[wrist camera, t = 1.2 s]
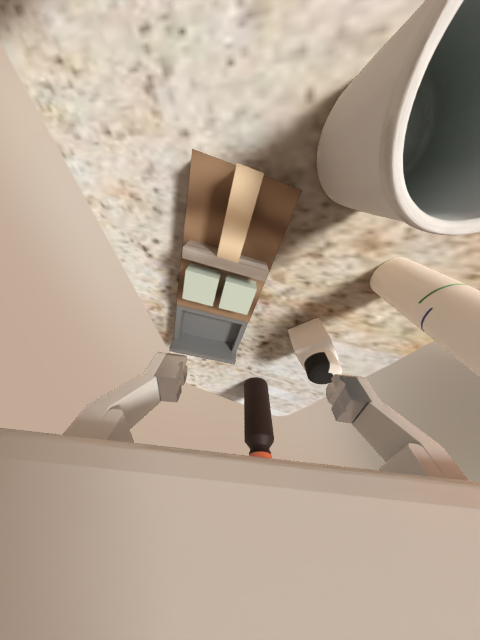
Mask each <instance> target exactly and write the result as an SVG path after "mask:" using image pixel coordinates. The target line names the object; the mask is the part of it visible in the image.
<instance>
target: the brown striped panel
mask: <svg viewBox="0 0 480 640" xmlns="http://www.w3.org/2000/svg"><path fill="white" fill-rule="evenodd" d="M235 170H236V165H234V164H231V163H228V162H226V161H223V160H220V159H218V158H215V157H212V156H210V155H207V154H205V153H202V152H199V151H197V150H194V149H192V157H191V167H190V177H189V187H188V197H187V206H186V216H185V226H184V236H183V245H182V251H183V246H184V245H185V244H186V243H187V242H188V241H189V240H193V241H196V242H200V243H203V244H206V245H210V246H213V247H216V248H219V244H220V239H221V235H222V230H223V225H224V221H225V216H226V211H227V207H228V202H229V197H230V193H231V188H232V183H233V179H234V174H235ZM301 191H302V190H300V189H297V188H294V187H292V186H289V185H286V184H284V183H281V182H278V181H276V180H273V179H271V178H268V177H265V176H263V179H262V183H261V186H260V190H259V193H258V197H257V200H256V204H255V207H254V210H253V214H252V217H251V221H250V224H249V228H248V231H247V235H246V238H245V242H244V245H243V248H242V252H241V255H243V256H246V257H249V258H253V259H256V260H259V261H263V262H266V263H267V267H268V270H269V271H270V269H271V266H272V264H273V261H274V259H275V256H276V254H277V251H278V249H279V246H280V244H281V241H282V239H283V236H284V234H285V231H286V229H287V226H288V224H289V221H290V219H291V216H292V214H293V211H294V209H295V206H296V204H297V201H298V199H299V196H300V194H301ZM190 263H192V264H196V265H199V266H203V267H206V268H210V269H213V270H217V271H220V272H221V274H220V279H219V283H218V287H217V291H216V295H215V299H214V303H213V306H209V305H205V304H201V303H197V302H193V301H189V300H185V299H182V296H183V288H184V280H185V272H186V269H187V267H188V266H189V264H190ZM227 274H231V275H235V276H238V277H242V278H245V279H249V280H252V281H256V286H257V291H256V293H255V296H254V299H253V301H252V304H251V307H250V309H249V312H248V314H247V315H245V314H241V313H237V312H233V311H229V310H225V309H221V308H219V303H220V299H221V295H222V291H223V287H224V283H225V279H226V276H227ZM264 283H265V282H264V281H261V280H257V279H254V278H250V277H247V276H243V275H240V274H236V273H233V272H229V271H226V270H222V269H219V268H215V267H212V266H208V265H205V264H201V263H198V262H194V261H191V260H187V259H184V258H182V255H181V265H180V275H179V285H178V294H177V304H176V305H180V306H184V307H188V308H193V309H197V310H201V311H205V312H209V313H213V314H217V315H221V316H225V317H229V318H233V319H237V320H241V321H245V322H249V321H250V318H251V316H252V313H253V311H254V308H255V306H256V303H257V301H258V298H259V296H260V293H261V291H262V288H263V286H264Z"/></svg>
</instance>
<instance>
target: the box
mask: <svg viewBox="0 0 480 640" xmlns="http://www.w3.org/2000/svg"><path fill="white" fill-rule="evenodd" d="M247 324H248V322H245V321H241V320H237V319H233V318H229V317H225V316H221V315H217V314H213V313H209V312H205V311H201V310H197V309H193V308H188V307H184V306H180V305H177V310H176V320H175V329H174V339H173V342H172V344H171V346H170V350H169V351H172V352H176V353H181V354H186V355H191V356H196V357H201V358H206V359H210V360H215V361H220V362H225V363H230V364H235V362H236V352H237V349H238V347H239V344H240V342H241V339H242V337H243V334H244V332H245V329H246V327H247Z"/></svg>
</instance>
